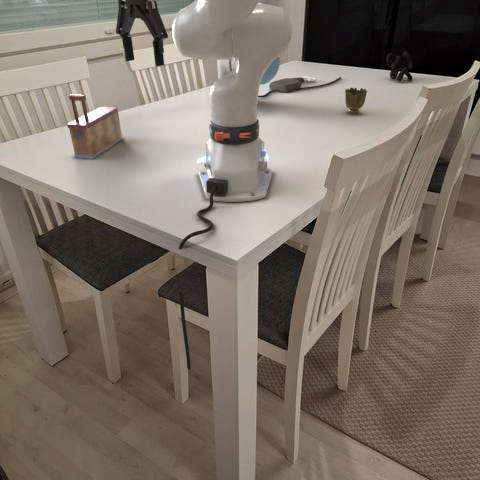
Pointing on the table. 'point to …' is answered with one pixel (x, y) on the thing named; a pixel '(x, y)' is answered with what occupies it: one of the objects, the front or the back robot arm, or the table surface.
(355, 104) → the cup
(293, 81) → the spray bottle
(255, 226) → the table surface
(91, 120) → the lid
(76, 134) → the chest
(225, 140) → the front robot arm
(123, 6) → the back robot arm
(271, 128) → the table surface
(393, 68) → the squiggle
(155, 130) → the table surface
